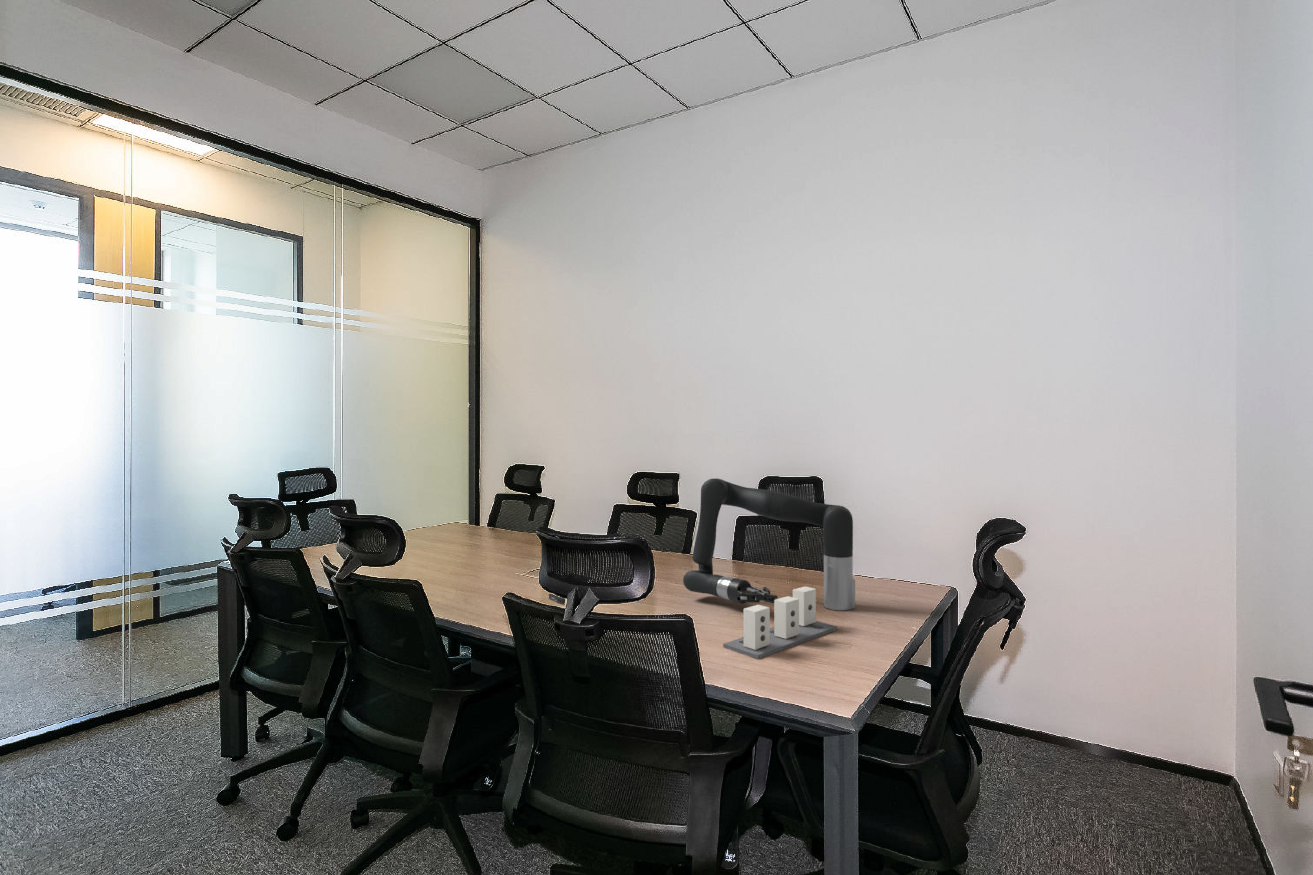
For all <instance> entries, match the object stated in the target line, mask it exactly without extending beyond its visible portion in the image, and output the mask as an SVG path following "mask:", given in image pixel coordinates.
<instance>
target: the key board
mask: <svg viewBox="0 0 1313 875" xmlns="http://www.w3.org/2000/svg"><path fill="white" fill-rule="evenodd" d="M837 630H838V626H836V625H833V624H830V623H826V622H822V621H819V620H816V622H815V623H812V624H809V625H806V626H801V625H799V634H798V635H796V636H793V637H790V638H787V639H784V638H781V637H778V636H775V635H774V626H773V627H770V645H767V646H764V647H762V648H759V649H756V650H754V649H751V648H748V647H745V646H744V636H743V637H740V638H737V639H734V640H730V641H727V642H724V643H723V649H727V650H730V651H733V652H736V653H738V654H741V655H744V656H748V657H750V658H753V659H756V660H759V659H762V658H765V657H767V656H770V655H772V654H773V655H774V654H776V653H778V652H780V651H784V650H786V649H789V648H792V647H794V646H797V645H799V644H802V643H804V642H808V641H810V640H811V641H812V640H813V639H815V638H819V637H821V636H824V635H826V634H829V633H832V632H834V631H837Z"/></svg>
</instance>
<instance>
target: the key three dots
mask: <svg viewBox="0 0 1313 875" xmlns="http://www.w3.org/2000/svg"><path fill="white" fill-rule="evenodd" d="M770 612H771V611H770V607H768V606H765V605H761V604H756V605H752V606H748V607H744V608H743V612H742V613H743V637H744V646H745V647H748V648H751V649H754V650H756V649H759V648H762V647H764V646H767V645H770V628H771V627H770V625H771V624H770V623H771V620H770V619H771V618H770V617H771V616H770V615H771V613H770Z"/></svg>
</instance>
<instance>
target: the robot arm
mask: <svg viewBox="0 0 1313 875" xmlns="http://www.w3.org/2000/svg"><path fill="white" fill-rule="evenodd" d="M722 505H723V506H730V507H731V506H732V507H735V508H736V507H737V508H741V509H743V510H746V511H748V512H750V513H753V514H756V515H759V516H762V517H764V518H768V519H773V520H777V521H780V522H781V521H782V522H791V523H792V522H793V523H807V524H812V525H816V526H819V527H822V528H823V530H822V531H823V533H822V534H823V536H822V537H823V542H822V543H823V608H826V609H829V610H833V611H834V610H835V611H849V610H852V609H856V579H855V578H854V577H853V569H854V565H853V564H854V560H853V553H854V552H853V551H854V541H853V540H854V519H853V515H852V513H851V511H850V510H849V509H848V508H847V507H845V506H842V505H838V504H837V505H836V504H829V503H819V502H814V501H810V500H807V499H804V498H801V497H799V496H798V497H797V496H795V495H791V494H787V493H784V492H780V491H776V490H775V491H774V490H768V489H764V488H762V489H761V488H753V487H746V486H742V485H738V484H736V483H735V484H734V483H732V482H730V481H726V480H724V479H722V478H718V477H717V478H710V479H707V480H706V481H704V482H703V484H702V485H701V489H700V511H699V521H698V527H697V529H696V530H697V531H696V534H695V542H694V546H693V550H692V551H693V552H692V556H691V559H692V562H694V563H695V564H697V566H698V569H697V570H695V569H694V570H689V571H687V572H686V573H685V574H684V575H683V578H682V579H683V580H682V583H683V586H684V588H685V589H686V590H688V591H690V592H693V593H697V594H707V595H711V596H715V597H718V598H721V599H725V600H727V601H731V602H733V603H739V604H745V603H764V602H765V603H766V602H767V603H771V604H774V600H776V599H779V598H778V595H777V594H772V593H771V590H770V589H769V588H768V587H767V586H763V587H762V588H758V586H754V585H751V583H750V582H749V580H746V579H743V578H742V579H741V578H738V577H734V576H726V575H720V574H714V569H713V567H714V566H713V558H714V553H715V548H716V541H717V540H716V539H717V526H718V525H717V524H718V519H719V514H720V511H721V508H722Z"/></svg>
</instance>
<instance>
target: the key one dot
mask: <svg viewBox="0 0 1313 875" xmlns="http://www.w3.org/2000/svg"><path fill="white" fill-rule="evenodd" d="M792 597H793V598H797V599H799V625H801V626H806V625H809V624H812V623H815V622H816V621H817V589H816V588H814V587H810V586H802V587H798V588H793V589H792Z"/></svg>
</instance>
